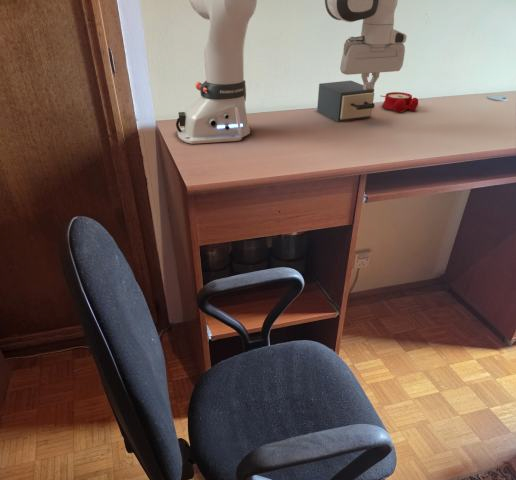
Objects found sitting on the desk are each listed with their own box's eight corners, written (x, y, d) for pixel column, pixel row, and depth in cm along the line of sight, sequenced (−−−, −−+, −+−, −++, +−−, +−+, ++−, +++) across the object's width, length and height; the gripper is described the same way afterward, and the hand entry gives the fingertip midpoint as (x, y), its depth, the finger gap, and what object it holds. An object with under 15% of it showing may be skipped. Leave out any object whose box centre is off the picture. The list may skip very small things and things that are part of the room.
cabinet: (370, 117, 152) (374, 89, 147) (337, 121, 149) (340, 92, 143) (347, 107, 162) (350, 80, 157) (317, 111, 159) (319, 83, 153)
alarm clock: (400, 91, 165) (427, 89, 153) (399, 110, 168) (425, 110, 156) (376, 93, 162) (401, 92, 150) (375, 113, 165) (400, 113, 153)
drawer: (379, 119, 147) (383, 96, 143) (349, 123, 144) (352, 99, 140) (350, 106, 160) (352, 84, 156) (321, 109, 157) (323, 87, 152)
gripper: (351, 38, 125) (344, 94, 134) (411, 35, 131) (401, 89, 140) (339, 35, 129) (333, 89, 138) (398, 33, 135) (389, 85, 144)
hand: (368, 89), depth 139 cm, fingers closed
